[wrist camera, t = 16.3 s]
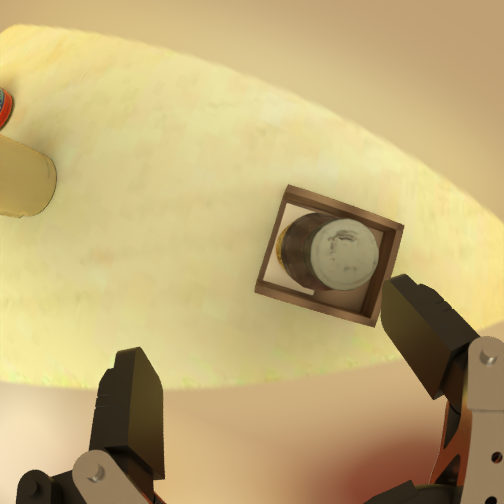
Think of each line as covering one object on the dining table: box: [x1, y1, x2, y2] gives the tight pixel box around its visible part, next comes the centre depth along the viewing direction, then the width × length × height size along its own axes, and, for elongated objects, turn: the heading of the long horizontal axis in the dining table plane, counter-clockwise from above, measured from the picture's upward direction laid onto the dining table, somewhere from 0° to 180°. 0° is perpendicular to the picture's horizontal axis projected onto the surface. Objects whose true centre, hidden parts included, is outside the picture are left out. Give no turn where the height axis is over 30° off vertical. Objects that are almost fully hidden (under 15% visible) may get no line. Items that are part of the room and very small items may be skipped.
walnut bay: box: [255, 184, 404, 328], centre depth 36 cm, size 14×12×5 cm
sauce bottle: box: [276, 212, 379, 291], centre depth 27 cm, size 6×6×20 cm
